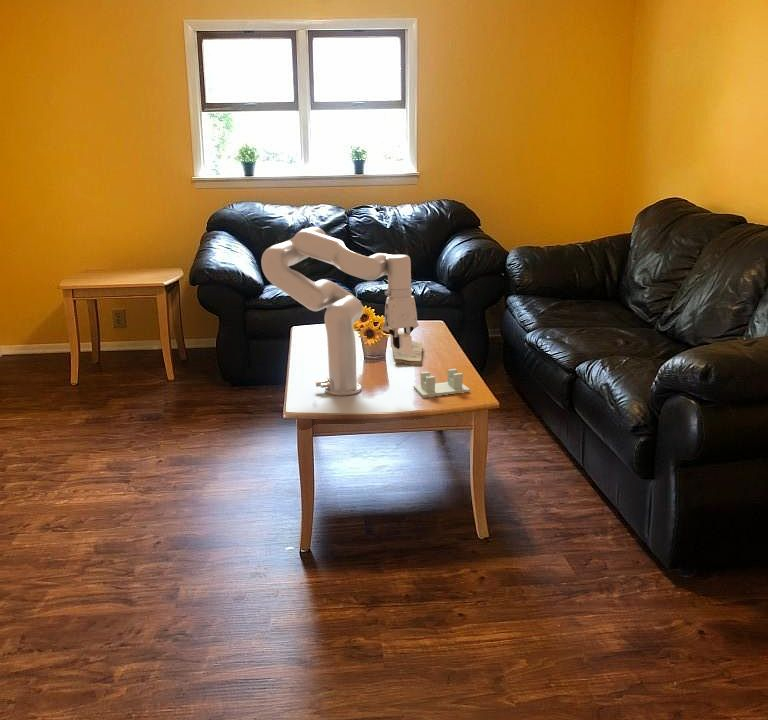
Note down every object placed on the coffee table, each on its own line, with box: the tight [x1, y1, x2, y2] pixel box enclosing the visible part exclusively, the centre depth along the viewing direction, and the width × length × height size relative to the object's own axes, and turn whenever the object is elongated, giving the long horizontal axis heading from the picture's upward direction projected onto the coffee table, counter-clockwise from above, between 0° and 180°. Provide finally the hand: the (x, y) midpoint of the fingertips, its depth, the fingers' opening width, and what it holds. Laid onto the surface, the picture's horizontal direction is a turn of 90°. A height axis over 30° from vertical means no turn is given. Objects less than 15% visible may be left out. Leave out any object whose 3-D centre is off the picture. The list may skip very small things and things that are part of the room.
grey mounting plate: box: [412, 368, 471, 399], centre depth 261 cm, size 17×10×6 cm, turn 106°
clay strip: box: [389, 329, 413, 355], centre depth 253 cm, size 12×2×6 cm, turn 23°
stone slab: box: [391, 340, 423, 366], centre depth 305 cm, size 12×4×30 cm
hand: (401, 346), depth 253 cm, fingers closed on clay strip, 2 cm apart
